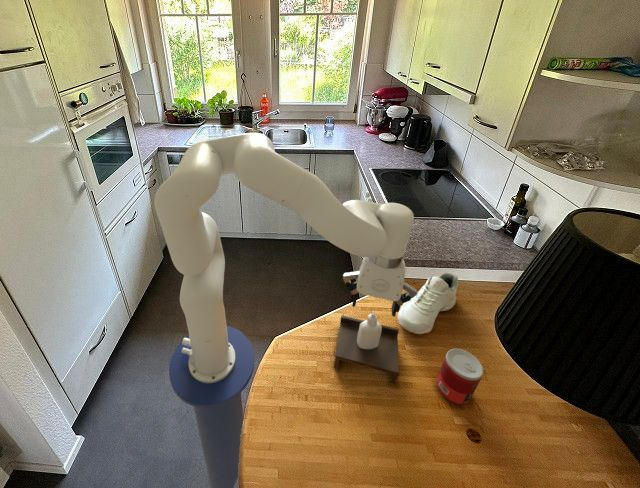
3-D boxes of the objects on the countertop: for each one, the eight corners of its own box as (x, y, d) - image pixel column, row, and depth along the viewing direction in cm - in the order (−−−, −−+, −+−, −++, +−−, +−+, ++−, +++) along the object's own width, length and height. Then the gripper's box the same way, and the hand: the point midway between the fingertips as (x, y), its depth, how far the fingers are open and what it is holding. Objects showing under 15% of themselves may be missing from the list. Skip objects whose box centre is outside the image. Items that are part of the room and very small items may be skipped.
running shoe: (385, 324, 100) (393, 293, 94) (428, 283, 116) (437, 253, 109) (417, 348, 93) (428, 315, 87) (458, 300, 109) (470, 270, 102)
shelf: (333, 367, 88) (336, 350, 85) (339, 331, 98) (341, 315, 95) (395, 384, 84) (400, 368, 81) (394, 345, 94) (398, 328, 91)
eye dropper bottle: (358, 334, 92) (364, 304, 86) (378, 341, 89) (386, 311, 84) (355, 346, 88) (360, 316, 82) (376, 354, 86) (383, 324, 80)
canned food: (469, 411, 78) (483, 385, 73) (434, 394, 82) (444, 368, 76) (470, 384, 84) (483, 357, 79) (437, 369, 87) (447, 343, 82)
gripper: (346, 256, 73) (337, 310, 81) (428, 273, 69) (410, 328, 77) (349, 237, 79) (340, 288, 87) (424, 252, 75) (408, 304, 83)
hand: (373, 307), depth 82 cm, fingers open, 9 cm apart
